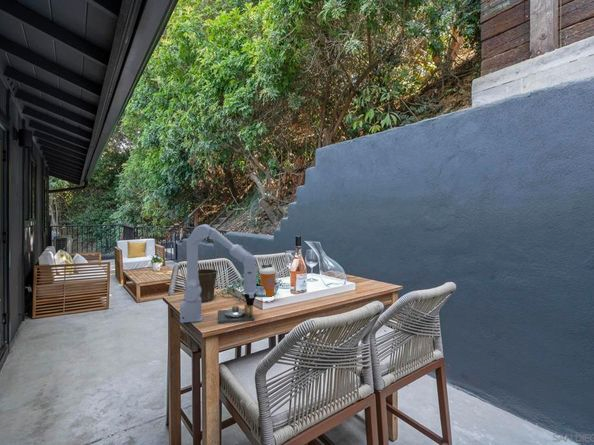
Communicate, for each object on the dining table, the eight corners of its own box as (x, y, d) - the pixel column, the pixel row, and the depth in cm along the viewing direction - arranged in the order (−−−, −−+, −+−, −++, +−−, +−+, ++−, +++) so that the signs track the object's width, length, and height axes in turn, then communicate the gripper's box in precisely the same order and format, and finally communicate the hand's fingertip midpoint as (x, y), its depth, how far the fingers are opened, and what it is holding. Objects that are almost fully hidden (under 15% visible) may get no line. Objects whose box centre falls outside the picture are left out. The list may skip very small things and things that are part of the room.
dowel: (246, 317, 148) (246, 307, 148) (246, 316, 149) (246, 306, 149) (250, 316, 148) (250, 307, 148) (250, 315, 150) (250, 306, 150)
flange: (220, 315, 149) (220, 306, 149) (230, 309, 158) (230, 300, 158) (247, 318, 145) (247, 308, 145) (256, 311, 155) (256, 302, 155)
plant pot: (217, 295, 192) (217, 268, 192) (218, 302, 177) (217, 273, 176) (188, 297, 188) (188, 269, 188) (186, 304, 172) (186, 274, 172)
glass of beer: (256, 300, 180) (256, 264, 179) (269, 297, 186) (269, 263, 185) (265, 304, 173) (265, 266, 172) (279, 301, 179) (278, 265, 178)
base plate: (218, 323, 143) (218, 321, 143) (218, 312, 158) (217, 310, 158) (254, 320, 147) (254, 318, 146) (250, 310, 162) (250, 307, 162)
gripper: (260, 283, 146) (260, 313, 146) (256, 277, 160) (256, 304, 160) (244, 284, 144) (245, 314, 144) (241, 277, 158) (242, 305, 159)
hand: (250, 309), depth 152 cm, fingers closed, pressing on flange
